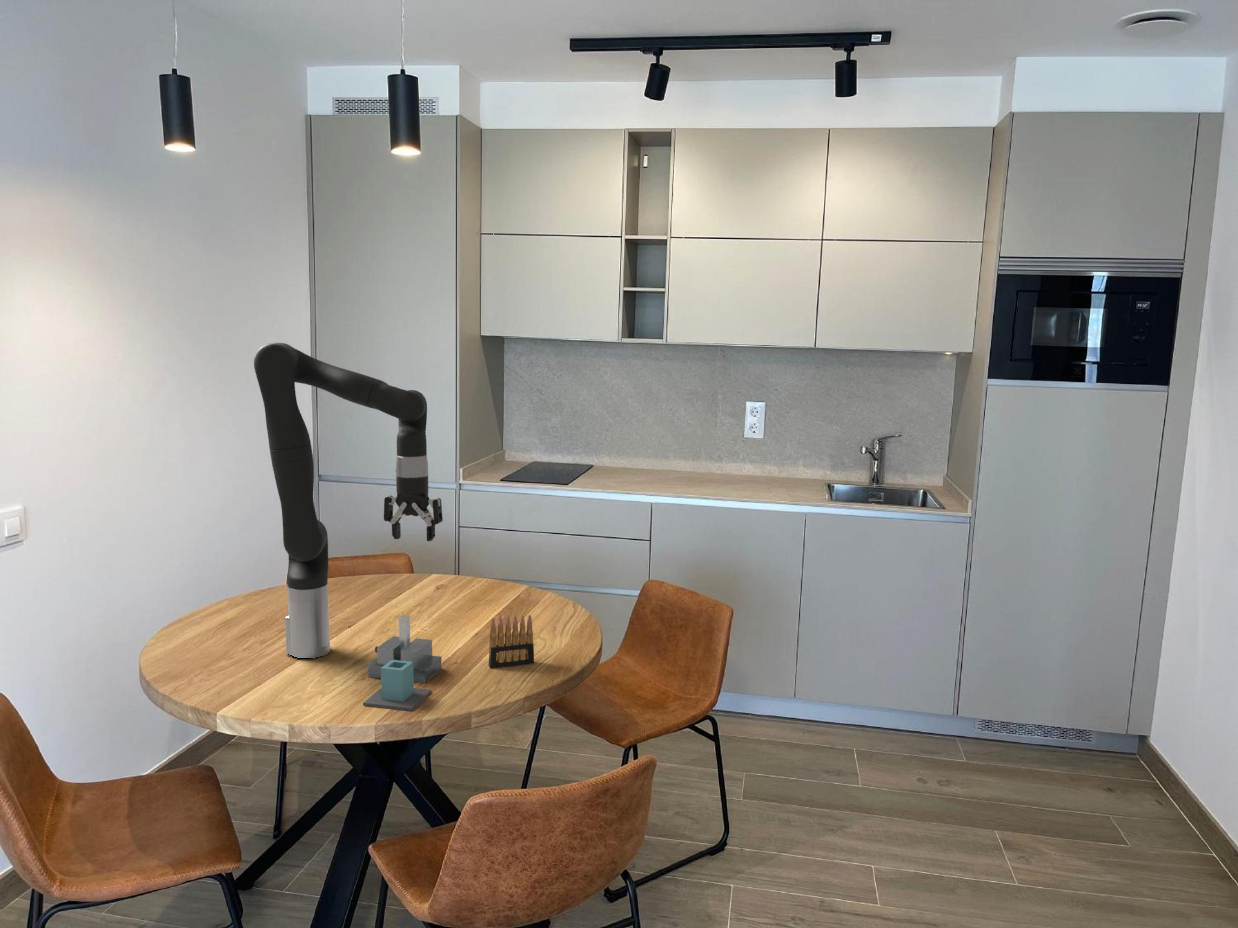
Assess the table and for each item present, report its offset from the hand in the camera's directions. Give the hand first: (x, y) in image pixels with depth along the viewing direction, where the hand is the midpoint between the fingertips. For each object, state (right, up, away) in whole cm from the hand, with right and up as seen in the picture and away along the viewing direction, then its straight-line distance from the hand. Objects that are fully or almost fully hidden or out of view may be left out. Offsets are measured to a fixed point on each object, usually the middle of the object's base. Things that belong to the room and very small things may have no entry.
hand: (413, 539), depth 216 cm
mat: (+2, -32, -25) cm, 41 cm away
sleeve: (+2, -32, -25) cm, 40 cm away
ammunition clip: (+24, -30, -4) cm, 39 cm away
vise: (+1, -30, -10) cm, 32 cm away
